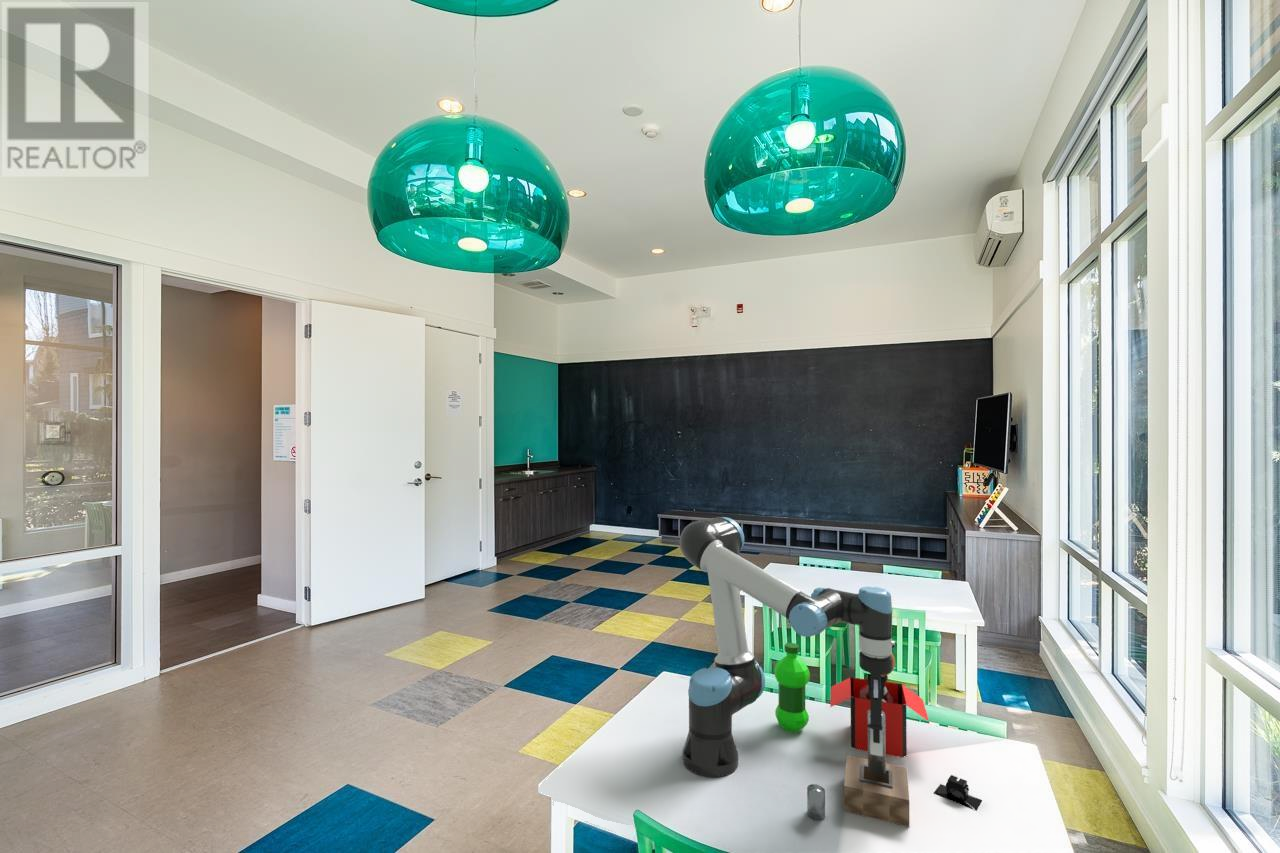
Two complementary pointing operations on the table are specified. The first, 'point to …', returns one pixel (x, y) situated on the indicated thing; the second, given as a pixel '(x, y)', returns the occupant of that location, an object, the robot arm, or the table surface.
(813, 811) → the short pin
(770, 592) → the robot arm
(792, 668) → the plastic bottle
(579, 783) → the table surface
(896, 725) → the jack-in-the-box
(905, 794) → the hole block
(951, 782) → the black notched mounting plate
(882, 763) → the long pin
